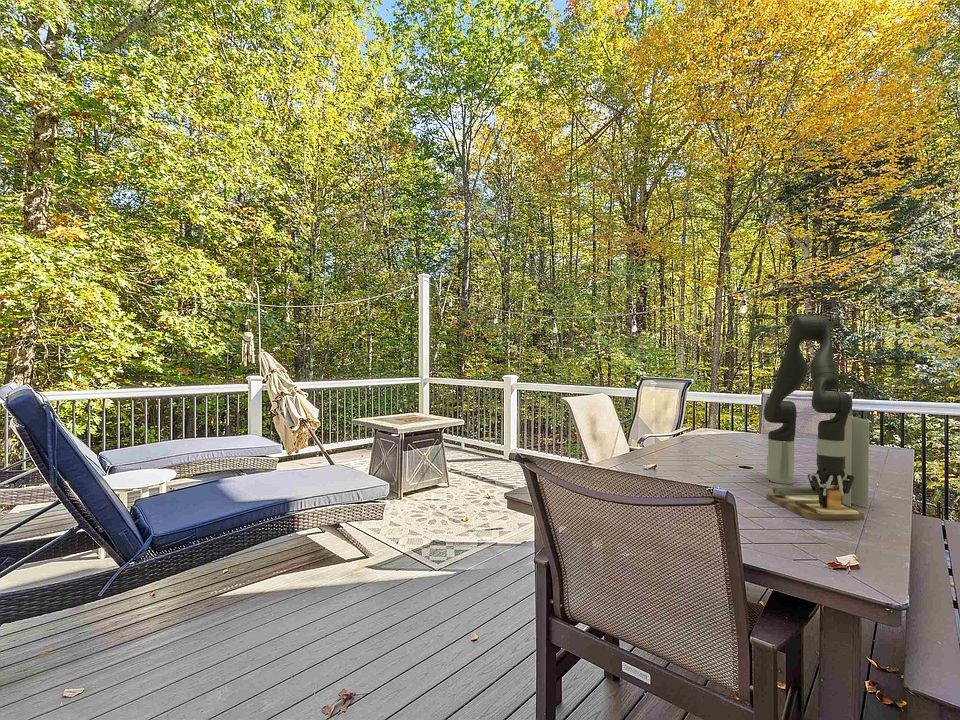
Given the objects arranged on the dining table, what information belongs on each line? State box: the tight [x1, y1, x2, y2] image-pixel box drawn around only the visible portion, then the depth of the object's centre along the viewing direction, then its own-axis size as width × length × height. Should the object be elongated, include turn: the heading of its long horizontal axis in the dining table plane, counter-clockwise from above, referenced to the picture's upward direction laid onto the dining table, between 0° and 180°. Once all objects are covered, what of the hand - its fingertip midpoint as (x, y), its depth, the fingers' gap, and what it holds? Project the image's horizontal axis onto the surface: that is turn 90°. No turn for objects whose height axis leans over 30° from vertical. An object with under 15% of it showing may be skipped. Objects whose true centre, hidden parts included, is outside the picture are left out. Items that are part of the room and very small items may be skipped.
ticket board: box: [765, 486, 865, 520], centre depth 165 cm, size 22×18×5 cm
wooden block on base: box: [806, 487, 859, 514], centre depth 156 cm, size 8×12×7 cm, turn 91°
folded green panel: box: [829, 414, 870, 509], centre depth 172 cm, size 14×6×30 cm, turn 168°
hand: (830, 505), depth 156 cm, fingers closed on wooden block on base, 4 cm apart
